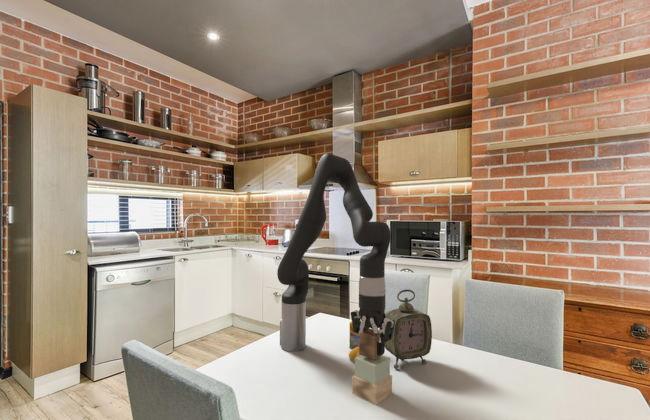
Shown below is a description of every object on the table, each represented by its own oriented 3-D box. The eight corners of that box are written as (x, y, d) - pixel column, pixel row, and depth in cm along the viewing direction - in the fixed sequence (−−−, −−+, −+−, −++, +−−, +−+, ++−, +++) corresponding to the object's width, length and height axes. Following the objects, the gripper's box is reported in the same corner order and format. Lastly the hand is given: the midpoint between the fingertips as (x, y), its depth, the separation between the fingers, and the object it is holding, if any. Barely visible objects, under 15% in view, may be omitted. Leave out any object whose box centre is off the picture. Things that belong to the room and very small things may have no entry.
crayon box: (349, 348, 120) (349, 317, 121) (353, 345, 123) (353, 315, 123) (365, 353, 116) (365, 321, 116) (369, 351, 118) (369, 319, 118)
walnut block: (359, 354, 90) (359, 333, 90) (369, 348, 94) (369, 328, 94) (374, 359, 87) (374, 337, 87) (384, 354, 91) (384, 332, 91)
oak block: (352, 393, 90) (352, 376, 90) (368, 383, 96) (368, 366, 96) (376, 405, 85) (376, 386, 85) (392, 393, 91) (392, 375, 91)
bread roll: (364, 369, 105) (364, 356, 105) (345, 359, 111) (345, 348, 112) (380, 361, 110) (380, 349, 110) (361, 353, 117) (361, 342, 117)
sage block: (354, 375, 90) (354, 358, 90) (369, 367, 95) (369, 350, 95) (375, 385, 85) (375, 366, 85) (389, 375, 90) (389, 358, 90)
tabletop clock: (394, 372, 102) (393, 294, 102) (380, 360, 110) (380, 288, 111) (432, 366, 107) (431, 290, 107) (415, 354, 115) (415, 285, 116)
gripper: (344, 289, 93) (343, 348, 93) (386, 298, 83) (386, 364, 83) (359, 285, 98) (359, 341, 98) (401, 293, 89) (401, 355, 88)
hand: (371, 351), depth 90 cm, fingers closed on walnut block, 5 cm apart
